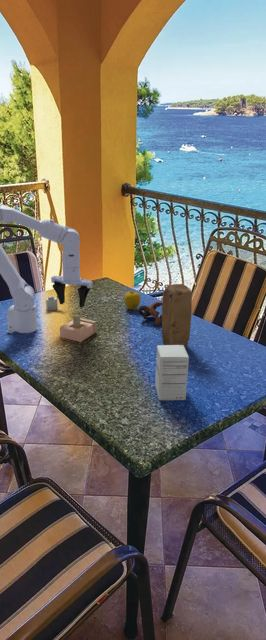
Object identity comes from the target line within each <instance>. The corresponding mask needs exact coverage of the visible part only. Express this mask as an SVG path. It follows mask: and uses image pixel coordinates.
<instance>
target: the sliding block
mask: <svg viewBox="0 0 266 640" xmlns="http://www.w3.org/2000/svg"><path fill="white" fill-rule="evenodd" d="M80 327H81V328H79V329H77V328H73V319H72V320H70V321H68V322H67V323H65V324H63V325H62V326H60V327H59V338H61V339H66V340H69V341H70V340H71V341H76V342H79V343H82V342H83V341H85V340H86V339H88V338H89V337H91V336H93V335H94V334H95V333H94V324H91V323H86V322H82V321H80Z"/></svg>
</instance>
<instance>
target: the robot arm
mask: <svg viewBox="0 0 266 640" xmlns="http://www.w3.org/2000/svg"><path fill="white" fill-rule="evenodd" d="M1 221H2V224H3V225H5V224H10V223H15V224H18V225H20V226H22V227H26V228H29V229H32V230H35V231H37V232H38V234H39V236H40V237H41V238H44V239H45V240H48V241H51V242H54V243H57V244H62V253H61V255H62V259H61V260H62V275H53V276H51V277H50V280H51V281H50V282H51V283H53V284H52V288H53V290H54V292H55V293H56V297H57V296H58V299H57V300H58V302H59V305H63V304H65V301H66V298H65V297H66V295H65V292H66V285H69V286H70V285H71V286H76V287H77V286H79V287H77V292H78V293H77V294H78V296H79V297H78V299H79V303H78V304H79V308H84V307H85V304H86V300H87V297H88V294H89V292H90V290H91V289H92V287H93V281H92V280H88V279H86V278H81V255H80V254H81V253H80V245H81V238H80V234H79V232H78V231H77V230H76V229H74V228H73V227H69V226H68V225H61V224H60V223H57V222H55V220H54V219H53V218H50V219H43V220H39V219H37V218H35V217H33V216H30V215H28V214H26V213H24V212H21V211H19V210H17V209H15V208H13V207H10V206H8V205H6V204H0V223H1ZM0 275H1V277H2V279H3V280H4V281H5V283H6V284H7V286H8V288H9V289H8V290H9V293H10V295H11V297H12V299H13V304H12V305H10V306H9V308H8V309H7V312H6V320H7V329H8V330H6V333H9V334H13V333H15V332H17V333H20V334H31V333H34V332H36V331H37V330H38V325H37V324H38V323H37V321H38V320H37V305H36V304H35V302H34V298H35V294H36V293H35V289H34V288H33V287H32V286H31V285H29V284H28V283H27V282H26V281H25V279H24V278H23V277H21V275H20V274H19V272H18V270H17V269H16V267H15V265H14V264H13V262H12V260H11V259H10V257H9V256H8V254H7V252H6V251H5V249H4V247H3V246H2V244H1V243H0Z"/></svg>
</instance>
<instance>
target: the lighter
mask: <svg viewBox="0 0 266 640" xmlns="http://www.w3.org/2000/svg"><path fill="white" fill-rule="evenodd" d="M58 300H59V299H58V296H57V295H56V296H55V295H51V296H48V298H46V299H45V305H46V306H45V309H46V311H54V310H55V311H56V309H57V310H58Z"/></svg>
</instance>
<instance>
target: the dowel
mask: <svg viewBox="0 0 266 640" xmlns="http://www.w3.org/2000/svg"><path fill="white" fill-rule="evenodd" d="M80 318H81V315H80V314H73V316H72V320H73V328H77V329H79V328H81V327H80Z"/></svg>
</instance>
